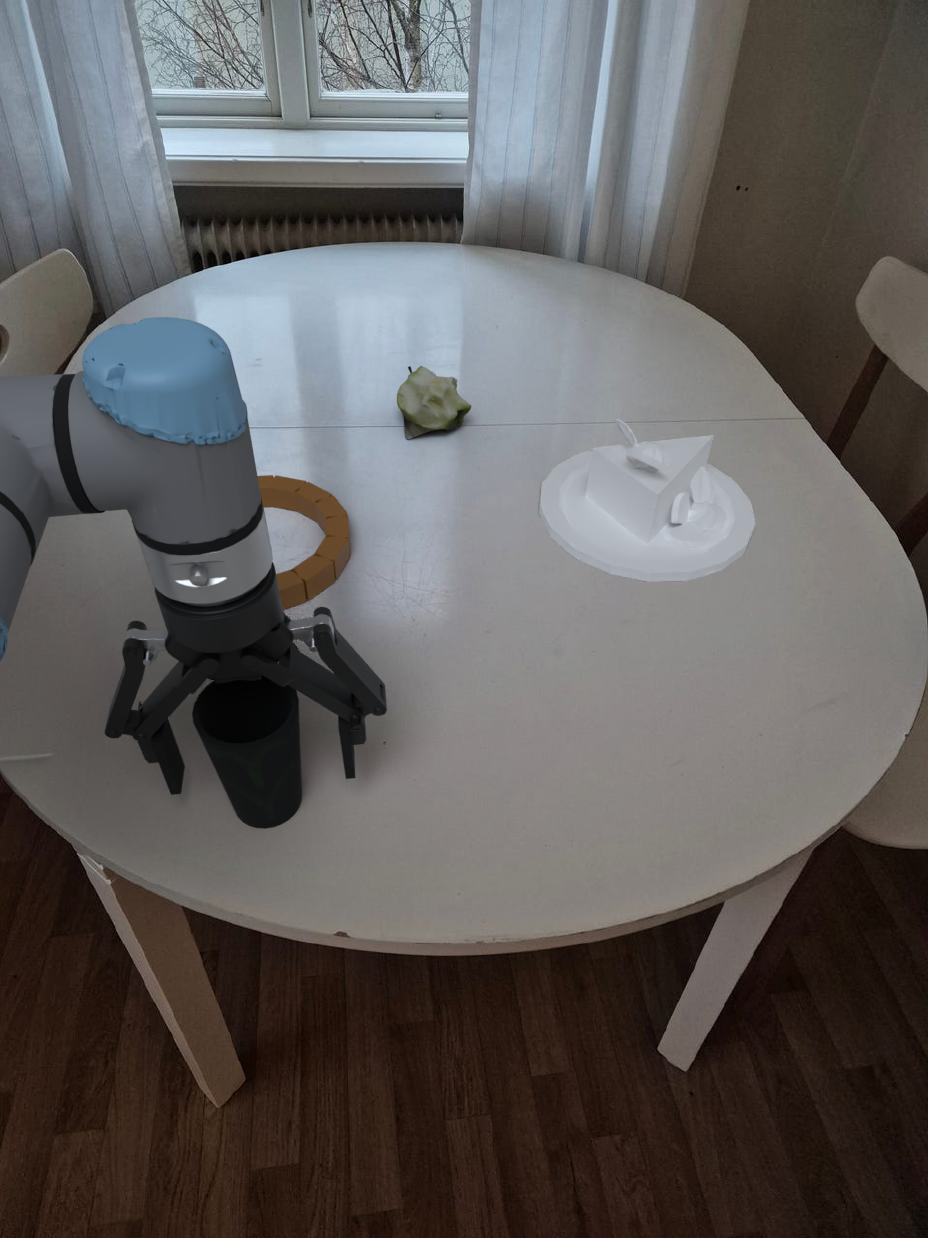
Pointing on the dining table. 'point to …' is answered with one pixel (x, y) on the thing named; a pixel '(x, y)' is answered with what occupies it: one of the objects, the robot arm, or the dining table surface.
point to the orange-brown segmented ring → (332, 550)
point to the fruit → (430, 403)
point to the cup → (253, 747)
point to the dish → (647, 509)
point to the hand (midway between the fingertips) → (265, 773)
